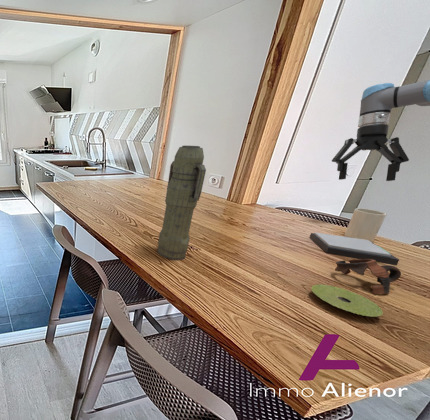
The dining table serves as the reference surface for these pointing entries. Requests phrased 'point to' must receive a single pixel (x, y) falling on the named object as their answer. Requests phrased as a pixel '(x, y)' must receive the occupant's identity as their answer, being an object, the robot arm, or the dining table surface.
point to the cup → (365, 224)
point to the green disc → (347, 300)
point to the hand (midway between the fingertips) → (365, 180)
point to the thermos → (181, 201)
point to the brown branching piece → (376, 270)
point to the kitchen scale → (352, 248)
